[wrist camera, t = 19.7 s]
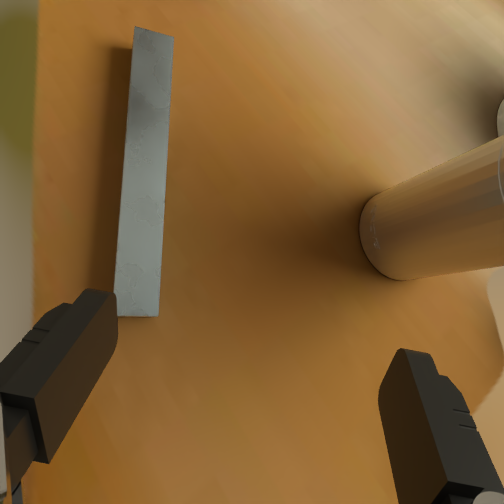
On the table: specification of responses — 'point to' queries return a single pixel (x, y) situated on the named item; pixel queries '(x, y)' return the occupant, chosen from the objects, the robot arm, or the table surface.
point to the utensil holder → (500, 119)
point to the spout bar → (144, 176)
